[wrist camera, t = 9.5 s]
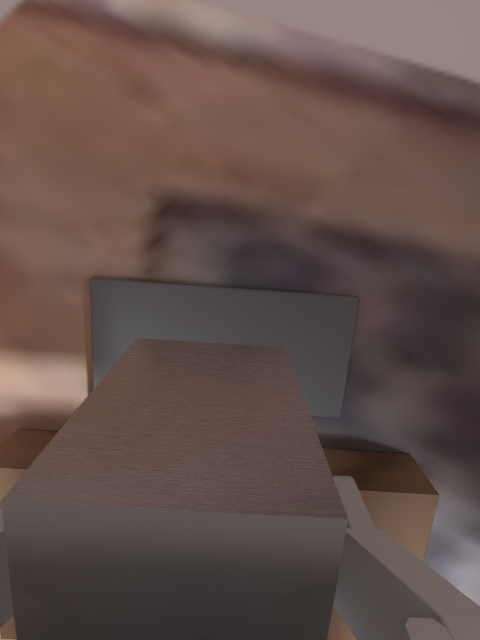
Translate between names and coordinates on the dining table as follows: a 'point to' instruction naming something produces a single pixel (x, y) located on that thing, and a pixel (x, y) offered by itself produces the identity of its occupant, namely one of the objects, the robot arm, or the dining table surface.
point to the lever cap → (179, 506)
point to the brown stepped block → (363, 466)
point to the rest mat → (231, 327)
